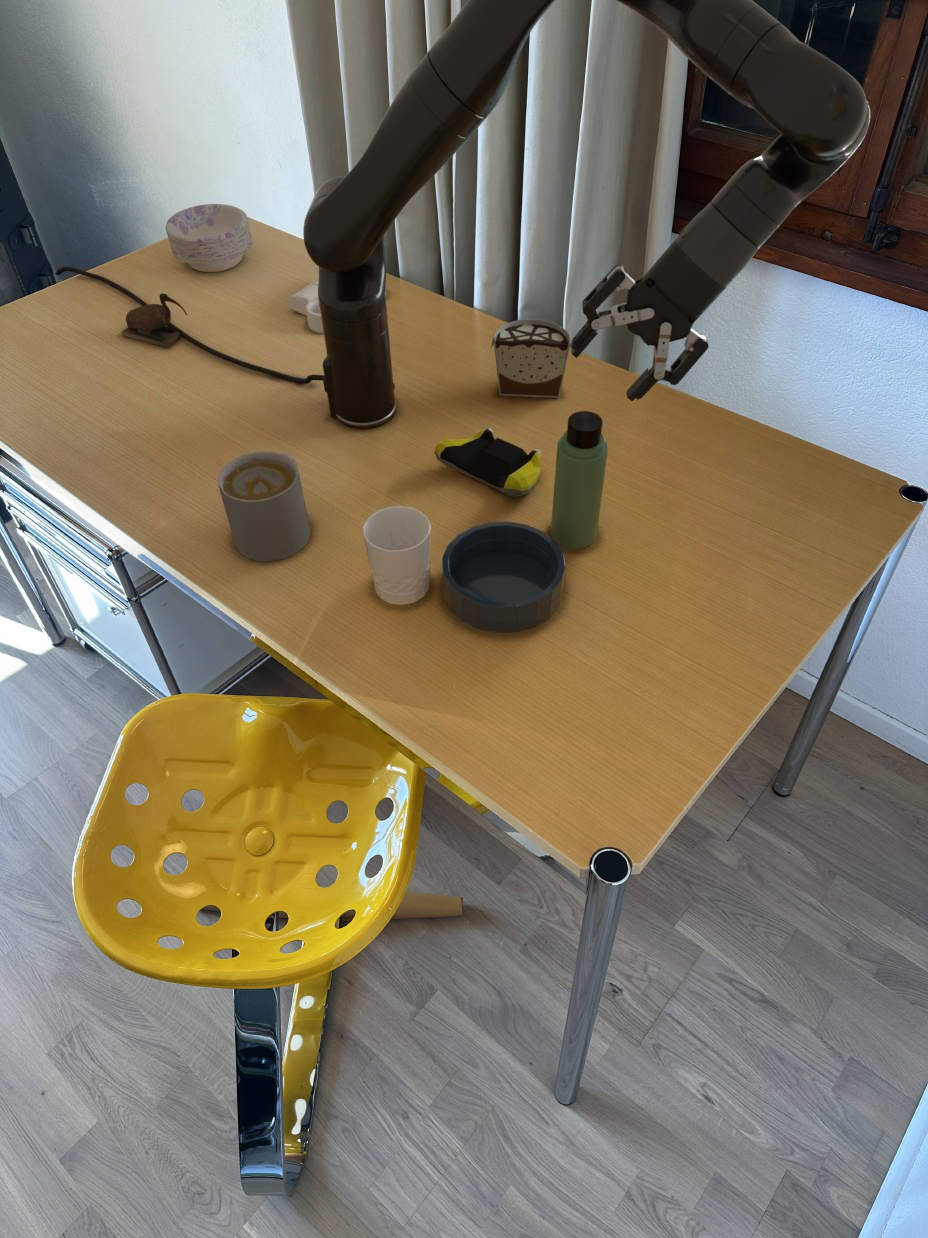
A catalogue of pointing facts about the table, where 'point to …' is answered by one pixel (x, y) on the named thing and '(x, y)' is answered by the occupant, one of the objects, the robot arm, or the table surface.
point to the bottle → (579, 481)
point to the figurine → (152, 323)
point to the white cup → (399, 553)
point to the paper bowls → (209, 236)
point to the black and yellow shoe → (492, 462)
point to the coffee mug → (265, 505)
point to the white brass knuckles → (308, 305)
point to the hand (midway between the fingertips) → (601, 375)
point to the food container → (531, 358)
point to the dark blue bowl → (503, 576)
